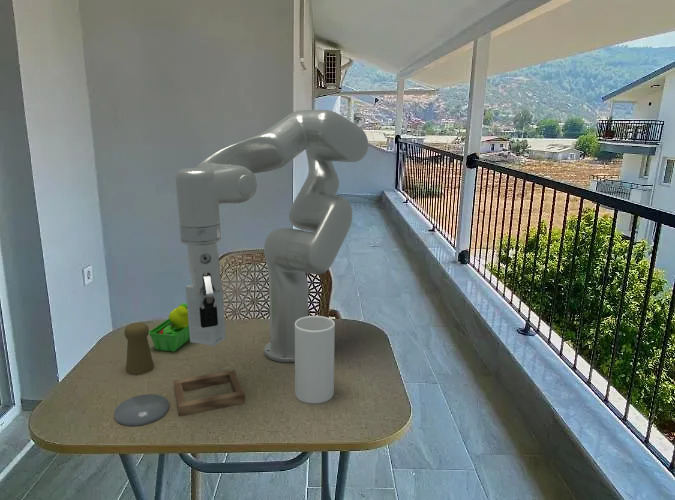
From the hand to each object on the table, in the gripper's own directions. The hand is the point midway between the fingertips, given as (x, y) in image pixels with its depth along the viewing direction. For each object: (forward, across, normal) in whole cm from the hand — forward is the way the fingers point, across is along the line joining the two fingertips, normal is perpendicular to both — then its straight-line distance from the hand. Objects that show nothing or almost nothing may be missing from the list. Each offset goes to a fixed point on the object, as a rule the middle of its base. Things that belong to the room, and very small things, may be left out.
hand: (206, 318), depth 98 cm
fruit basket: (+18, +28, +5) cm, 34 cm away
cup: (+18, -8, -20) cm, 28 cm away
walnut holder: (+17, 0, +1) cm, 17 cm away
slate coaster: (+17, -1, +14) cm, 22 cm away
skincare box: (+5, 0, 0) cm, 5 cm away
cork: (+17, +18, +14) cm, 28 cm away
